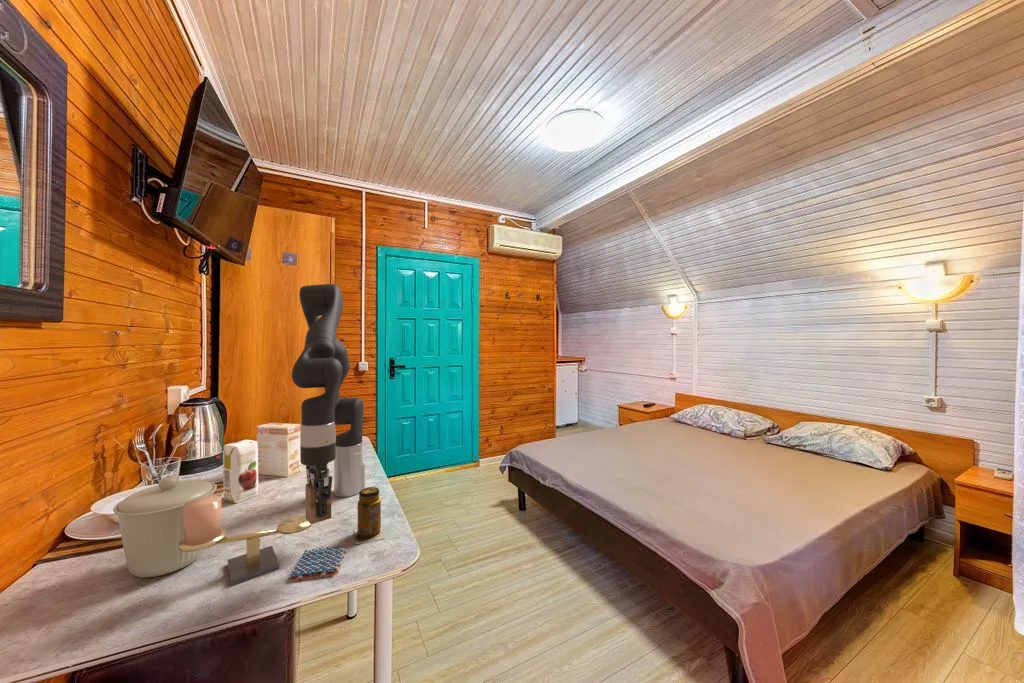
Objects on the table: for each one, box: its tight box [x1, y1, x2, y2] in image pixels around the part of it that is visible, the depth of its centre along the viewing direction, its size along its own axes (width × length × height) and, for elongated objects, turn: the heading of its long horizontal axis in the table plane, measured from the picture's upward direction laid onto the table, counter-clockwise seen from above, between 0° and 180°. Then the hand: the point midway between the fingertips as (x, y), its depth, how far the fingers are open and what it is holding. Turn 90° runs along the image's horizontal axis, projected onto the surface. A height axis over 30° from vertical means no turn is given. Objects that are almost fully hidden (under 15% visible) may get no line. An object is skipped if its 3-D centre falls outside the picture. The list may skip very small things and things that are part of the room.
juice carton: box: [222, 439, 259, 504], centre depth 124 cm, size 8×9×19 cm
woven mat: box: [289, 545, 348, 582], centre depth 87 cm, size 10×11×2 cm
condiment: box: [353, 486, 385, 545], centre depth 101 cm, size 7×8×12 cm
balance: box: [179, 514, 313, 587], centre depth 87 cm, size 26×10×10 cm, turn 132°
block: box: [305, 483, 332, 525], centre depth 87 cm, size 4×4×8 cm
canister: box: [112, 475, 217, 578], centre depth 88 cm, size 18×18×21 cm
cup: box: [183, 495, 223, 546], centre depth 81 cm, size 6×6×8 cm
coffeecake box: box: [256, 422, 302, 478], centre depth 147 cm, size 15×7×20 cm, turn 77°
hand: (318, 512), depth 87 cm, fingers closed on block, 4 cm apart
